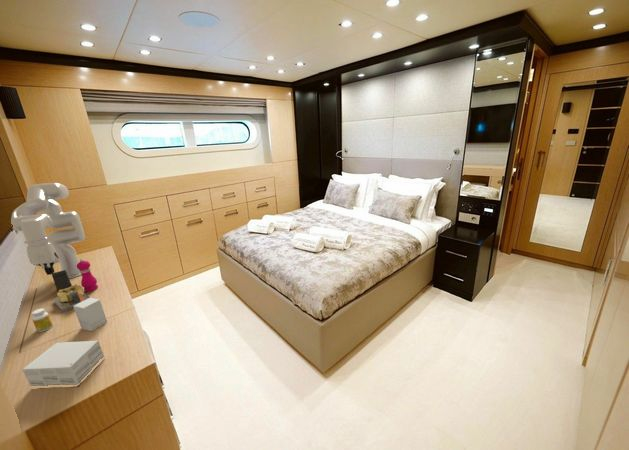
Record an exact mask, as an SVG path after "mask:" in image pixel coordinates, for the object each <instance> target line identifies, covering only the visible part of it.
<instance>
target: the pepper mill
mask: <svg viewBox="0 0 629 450" xmlns="http://www.w3.org/2000/svg"><path fill="white" fill-rule="evenodd" d="M77 269H79V271H80V273H81V274H82V275H81V282H80V286H81V287H82V288H83V292H84V293H85V292H86V293H90V292H94V291H95V290H97V289H99V288H98V287H99V286H98V284H97V283H98V281H97V278H96V277H95V276H94V275H93V273H92V272H91V270H92V269H91V263H90V262H89V261H88V260H84V258H80V259H79V263H78V264H77Z"/></svg>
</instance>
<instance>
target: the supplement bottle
mask: <svg viewBox="0 0 629 450" xmlns="http://www.w3.org/2000/svg"><path fill="white" fill-rule="evenodd" d="M31 314H32V318H31V320H32V322H33V324H34V327H35V329H36V331H37V332H39V333H40V332H45V331H47V330H50V329H51V328H52V327H53V322H52V320H51V317H50V314H49V313H48V312H47V311H46V310H45V309H44V308H37V309H35V310H34V311H32V312H31Z"/></svg>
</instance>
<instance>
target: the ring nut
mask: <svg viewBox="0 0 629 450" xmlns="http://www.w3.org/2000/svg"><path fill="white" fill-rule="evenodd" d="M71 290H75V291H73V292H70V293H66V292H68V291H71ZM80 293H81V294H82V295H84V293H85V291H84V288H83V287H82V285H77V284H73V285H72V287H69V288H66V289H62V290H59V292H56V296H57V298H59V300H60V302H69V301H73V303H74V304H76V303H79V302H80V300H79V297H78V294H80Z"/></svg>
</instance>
